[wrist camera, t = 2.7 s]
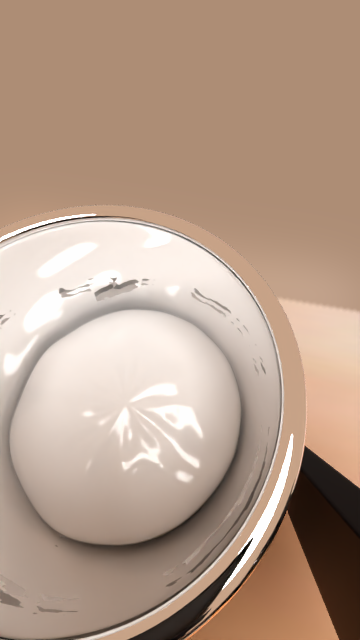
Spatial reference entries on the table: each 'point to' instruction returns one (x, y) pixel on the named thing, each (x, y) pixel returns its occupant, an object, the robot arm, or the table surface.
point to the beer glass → (137, 424)
